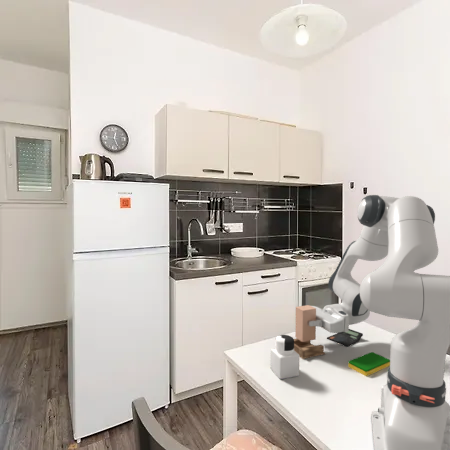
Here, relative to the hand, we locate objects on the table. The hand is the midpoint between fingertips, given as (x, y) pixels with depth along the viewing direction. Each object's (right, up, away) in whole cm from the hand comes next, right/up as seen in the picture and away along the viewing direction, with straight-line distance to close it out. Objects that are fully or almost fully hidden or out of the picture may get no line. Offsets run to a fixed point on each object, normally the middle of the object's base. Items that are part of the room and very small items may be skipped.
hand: (303, 320), depth 117 cm
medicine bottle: (-10, -13, -15) cm, 22 cm away
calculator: (+20, -12, +11) cm, 26 cm away
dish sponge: (+20, -13, -11) cm, 26 cm away
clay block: (+1, -7, +1) cm, 7 cm away
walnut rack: (+1, -12, +1) cm, 12 cm away
